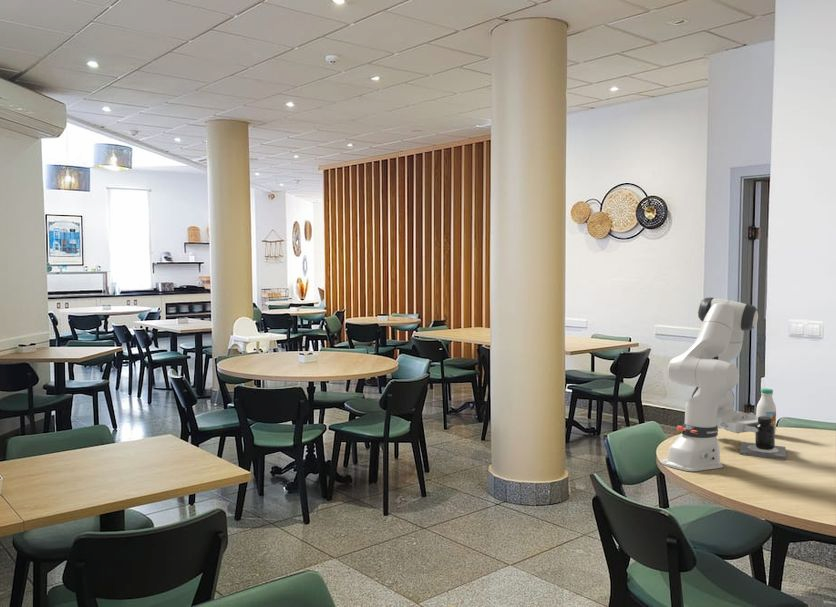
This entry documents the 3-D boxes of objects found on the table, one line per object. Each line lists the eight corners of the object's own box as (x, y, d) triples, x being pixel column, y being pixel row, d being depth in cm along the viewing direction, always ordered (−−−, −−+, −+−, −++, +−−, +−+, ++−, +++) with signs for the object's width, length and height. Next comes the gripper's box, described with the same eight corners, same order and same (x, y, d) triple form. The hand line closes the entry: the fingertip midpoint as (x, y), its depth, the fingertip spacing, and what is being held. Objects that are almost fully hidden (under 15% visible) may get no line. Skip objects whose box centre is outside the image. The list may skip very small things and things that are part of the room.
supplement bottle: (751, 446, 276) (750, 417, 275) (765, 443, 278) (764, 414, 277) (765, 451, 269) (764, 421, 268) (779, 448, 272) (778, 418, 270)
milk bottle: (757, 436, 299) (759, 390, 298) (753, 432, 306) (755, 387, 305) (777, 437, 297) (779, 391, 296) (772, 433, 304) (774, 388, 303)
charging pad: (786, 459, 263) (786, 456, 262) (739, 454, 270) (739, 450, 270) (785, 449, 277) (785, 446, 277) (740, 444, 284) (741, 441, 284)
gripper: (717, 416, 280) (747, 423, 267) (753, 412, 289) (783, 419, 276) (717, 431, 280) (746, 439, 268) (752, 427, 289) (782, 434, 276)
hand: (765, 429), depth 272 cm, fingers open, 8 cm apart
